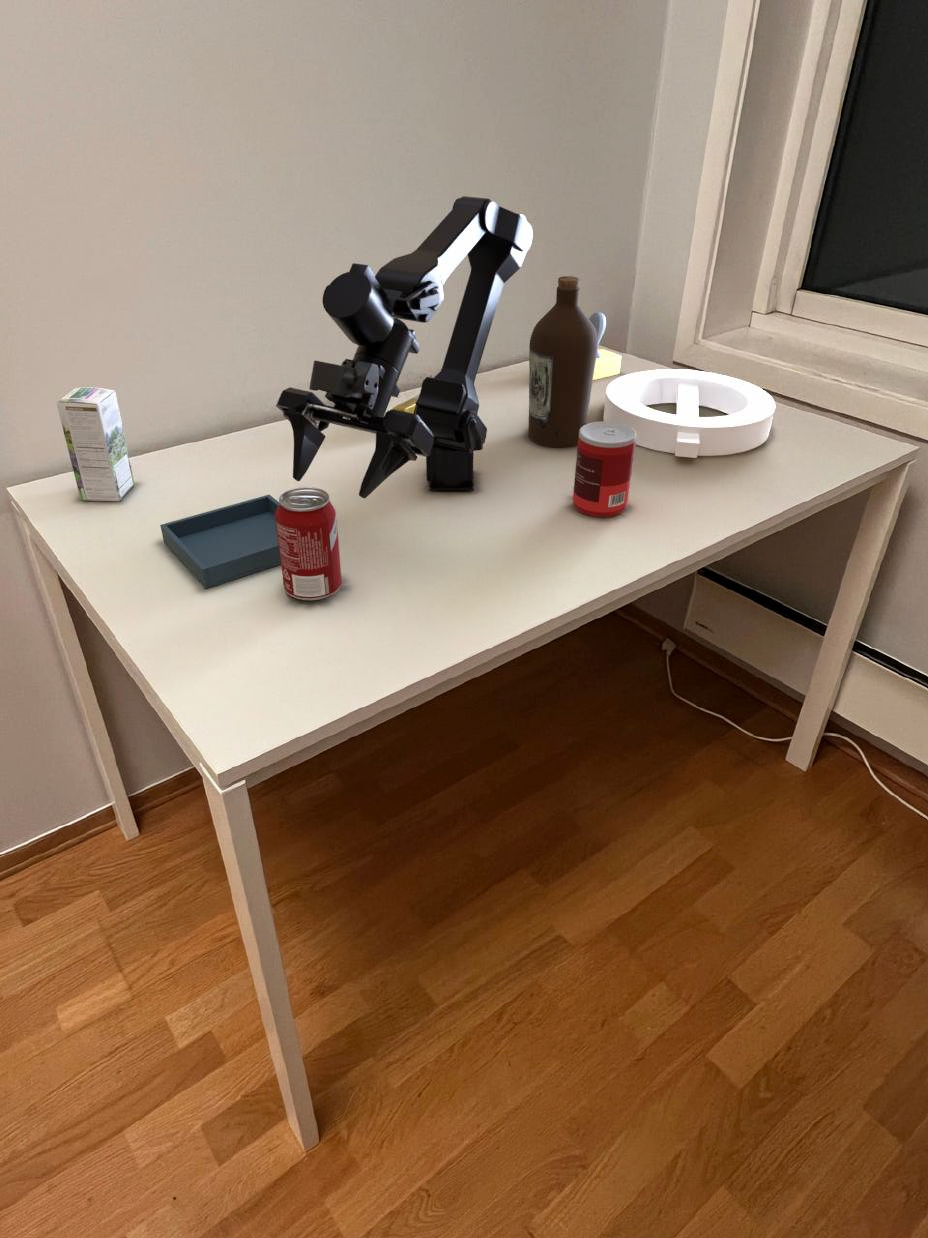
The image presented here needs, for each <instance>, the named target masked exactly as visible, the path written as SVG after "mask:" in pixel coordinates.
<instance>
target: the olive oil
mask: <svg viewBox="0 0 928 1238" xmlns="http://www.w3.org/2000/svg"><path fill="white" fill-rule="evenodd" d="M557 284H558V285H557V287H556V294H555V295H556V296H555V298H556V299H555V304H554V305H553V306H552V307H551V308H550V309H549V310H548V311H547V312H546V313H545V314H544V315H543V316H542V317H541V318H540V319H539V320H538V322H537V323H536V324H535V325H534V328H533V329H532V332H531V335H530V338H529V346H528V347H529V348H528V351H529V352H528V358H529V359H528V363H529V364H528V365H529V366H528V379H529V380H528V383H529V384H528V424H527V425H528V426H527V427H528V428H527V429H528V430H527V435H528V438H529V440H531V441H532V442H534V443H535V444H537V445H540V446H544V447H548V448H569V447H570V448H571V447H575V446H578V438H579V432H580V428H581V427H582V426H584V425H586V424H588V416H589V409H590V403H591V394H592V387H593V381H594V380H593V376H594V369H595V363H596V357H597V350H599V345H598V339H597V333H596V330H595V328H594V326H593V324H592V323H591V321H590V320H589V318H588V316H587V314H585V312H584V311H583V310H582V308H581V306H580V305H579V297H580V288H579V285H580V278H579V277H577V276H573V275H564V276H563V275H562V276H560V277H558V279H557Z"/></svg>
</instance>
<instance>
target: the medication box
mask: <svg viewBox="0 0 928 1238" xmlns="http://www.w3.org/2000/svg"><path fill="white" fill-rule="evenodd" d="M419 395H420V393H419V394H417V395H416V396H413V397H411V398H409V399H407V400H405V401H403V402H401V403H400V404H398V405H396V406H395V405H394V406H393V407H392V409H394V410H399V411H403V412H408V413H413V414H414V409H415V406H416V401H417V400H418V398H419Z"/></svg>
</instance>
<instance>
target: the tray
mask: <svg viewBox="0 0 928 1238" xmlns="http://www.w3.org/2000/svg"><path fill="white" fill-rule="evenodd" d="M279 505H280V504H279V500H278V499H276V498H275V497H274V496H272V495H271V494H265V495H262V496H259V497H256V498H252V499H248V500H244V501H240V502H236V503H233V504H229V505H226V506H222V507H219V508H216V509H212V510H209V511H205V512H201V513H198V514H194V515H191V516H186V517H184V518H180V519H176V520H173V521H169V522H166V523H163V524H160V525H159V526H160V530H161V535H162V539H163V540H162V541H163V544H164V545H165V546H166V547H167V548H168V549H169V550H170V552H172V553H173V555H174V556H175V557H176V558H177V559H178V560H179V562H181V563H182V565H183V566H184V567H185V568H186V569H187V570H188V572H190V573H191V574H192V576H193V577H194V578H195V579H196V580H197V581H198V582H199V583H200V584H201V585H202V586H203V588H205V590H207V589H210V588H213V587H216V586H220V585H222V584H225V583H229V582H231V581H234V580H238V579H240V578H243V577H246V576H249V575H253V574H255V573H259V572H262V571H265V570H268V569H271V568H274V567H277V566H281V559H280V551H279V543H278V536H277V528H276V520H275V512H276V510H277V508H278V506H279Z"/></svg>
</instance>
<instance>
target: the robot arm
mask: <svg viewBox="0 0 928 1238" xmlns="http://www.w3.org/2000/svg"><path fill="white" fill-rule="evenodd" d="M532 242H533V227H532V225H531V223H529V222H528V220H527V218H526V216H525V214H523V213H517V212H514V211H511V210H509V209H508V208H505V207H502V206H500V205H499V204H498V203H497V202H495V201H493V200H492V199H490V198H488V197H487V198H486V197H474V196H467V195H466V196H465V195H463V196H461V197H457V198H456V199H455V200H454V202H453V204H452V208H451V210H449V212H448V213H447V215H446V216H445V217H444V218H443V220H441V222H439V224H438V225H437V226H436V227H435V228H434V229H433V230H432V232H430V234H429V235H428V236H427V237H426V238H424V240H423V241H422V242H421V244H420V245H419V246H418V247H417V248H416V249H415V250H414V251H412V252H410V253H406V254H404V255H400V256H397V257H394V258H392V259H391V260H390V261H389V262H387V263H386V264H384V265H383V266H381V267H380V268H379V269H378V271H377V272H376V274H374V271H373V270H372V269H371V267H370V266H369V264H362V263H355V262H353V263H351V266H350V268H349V271H345V272H344V273H341V274H340V275H338V276H337V277H335V278H334V279H333V280H332V281H331V282H330V283H329V284H328V285H326V286H325V288H324V290H323V294H322V307H323V309H324V310H325V312H326V313H327V314H328V316H329V317H330V318H331V319H332V320H333V322H334V324H336V326H337V327H338V328H339V329H340V330H341V332H342V333H343V335H345V336H346V338H347V340H349V341H350V342H351V343H352V344H354V345H357V347H356V350H355V353H354V354H353V357H352V359H349V358H345V359H344V360H343V361H342V362H341V365H340V364H336V363H330V362H325V361H320V360H313V365H312V370H311V375H310V382H309V390H310V391H308V390H303V389H299V388H294V387H287V388H285V389H283V390H282V391H281V392H280V395H279V397H278V399H277V402H276V404H275V407H276V408H277V409H278V410H280V411H281V412H282V414H283V417H284V418H285V419H286V420H287V421H289V422H290V423H289V424H290V426H291V429H292V436H293V459H292V461H293V463H292V478H293V479H294V480H295V481H296V482H300V481H301V480H302V479H303V478H304V476H305V475H306V473H307V472H308V470H309V468H310V467H311V464H312V463H313V461H314V459H315V457H316V456H317V453H318V452H319V450H320V448H321V446H322V445H323V443H324V441H325V439H326V437H327V436H326V435H325V434H324V433H323V431H324V430H326V429H328V428H329V426H330V424H331V425H336V426H341V427H345V428H349V429H353V430H357V431H362V432H367V433H370V434H375V449H374V452H373V454H372V457H371V459H370V462H369V464H368V467H367V469H366V471H365V474H364V476H363V479H362V481H361V484H360V488H359V491H358V496H359V497H360V498H361V499H366V498H368V497H369V496H370V495H371V494H372V493H373V492H374V491H375V490H376V489H377V488H379V486H380V485H382V484H383V482H385V481H386V480H387V479H388V478H389V477H390V476H391V475H392V474H394V473H395V472H397V471H398V470H399V469H400V468H402V467H403V466H404V465H406V464H407V463H408V462H409V461H413V462H416V461H417V459H418V456H421V457H425V471H426V472H425V473H426V474H425V476H426V479H425V480H426V482H427V483H429V486H428V488H429V489H428V490H429V491H432V492H433V491H434V492H435V491H436V492H437V491H441V492H443V491H444V492H447V491H448V492H473V491H474V490H475V470H474V457H475V452H477V451H482V450H483V449H484V444H485V443H486V439H487V433H488V428H487V426H486V425H485V423H484V422H483V421H482V419H481V417H480V416H479V415H478V413H479V409H480V402H479V398H478V394H477V389H476V385H475V383H476V378H477V375H478V372H479V369H480V365H481V361H482V358H483V355H484V351H485V348H486V344H487V341H488V338H489V334H490V332H491V328H492V324H493V321H494V318H495V314H496V311H497V308H498V305H499V300H500V298H501V295H502V292H503V287H504V285H505V283H506V282H508V280H509V279H510V278H511V277H513V276H514V275H515V274H516V273H517V272H519V270H520V269H521V268H522V265H523V262H524V260H525V257H526V255H527V252H528V251H529V250H530V248H531V246H532ZM466 256H467V259H468V263H469V266H470V272H469V276H468V279H467V282H466V286H465V289H464V293H463V296H462V299H461V303H460V306H459V310H458V313H457V316H456V320H455V323H454V326H453V328H452V329H453V330H452V333H451V336H450V340H449V343H448V346H447V350H446V353H445V356H444V360H443V363H442V366H441V370H440V371H439V372H437V374H436V375H435V376H434V377H431V376H426V377H425V378H424V380H423V381H422V383H421V387H420V393H419V394H420V395H419V394H418V395H419V398H418V400H417V401H416V406H415V409H414V414H413V413H408V412H403V411H399V410H394V409H393V408H391V409H390V410H388V411H387V409H388V406H389V404H390V402H391V398H392V397H393V398H397V399H398V397H399V395H400V393H401V389H400V387H399V386H398V385H397V383H398V381H399V378H400V376H401V373H402V371H403V369H404V366H405V363H406V361H407V358H408V356H409V354H415V355H417V354H419V352H420V347H419V345H420V344H419V342H418V340H417V337H416V330H415V329H413V328H412V329H411V328H409V326H407V324H406V323H405V322H404V321H411V322H417V323H428V322H430V320H432V319H433V317H434V316H435V314H436V313H437V311H438V309H439V307H440V306H441V304H442V302H443V301H444V299H445V292H444V284H445V283H446V282H447V279H449V277H450V276H451V274H452V273H453V272H454V271H455V270H456V268H457V267H458V266H459V265H460V264H461V263H462V261H463V260H464V259H465V258H466ZM403 320H404V321H403ZM313 391H314V392H315V391H316V392H317V391H320V392H321V391H322V392H325V395H324V397H325V398H326V399H327V401H329V402H331V403H333V404H334V405H333V406H331V405H326V404H325V403H324V402H323V401H322V400H321V399H320V398H319V397H318V396H317V395H316V394H315V393H314V392H313Z"/></svg>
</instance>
